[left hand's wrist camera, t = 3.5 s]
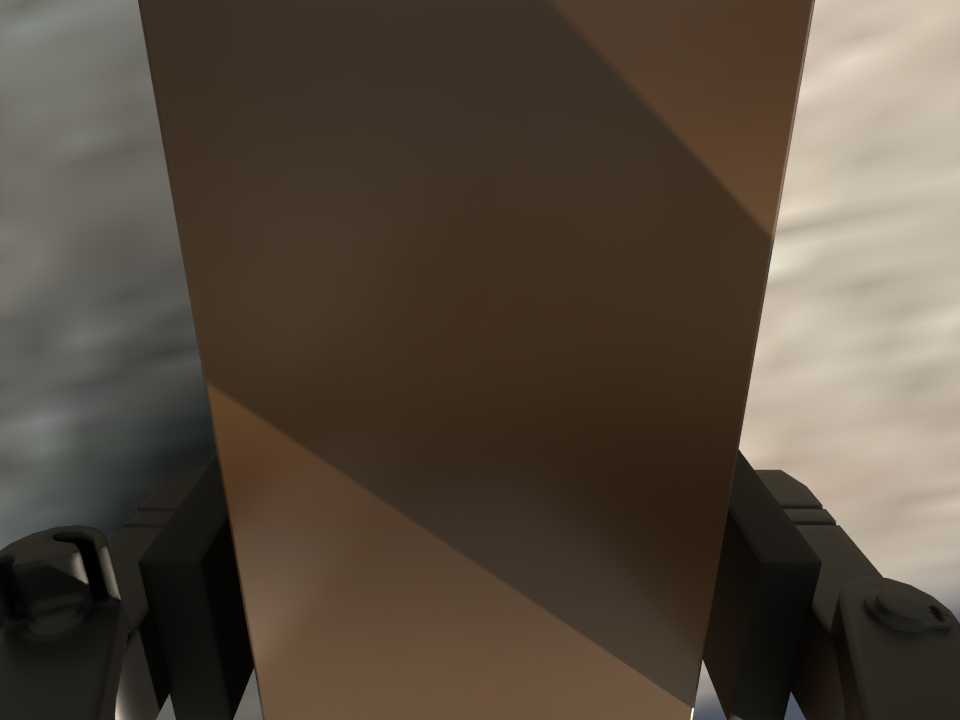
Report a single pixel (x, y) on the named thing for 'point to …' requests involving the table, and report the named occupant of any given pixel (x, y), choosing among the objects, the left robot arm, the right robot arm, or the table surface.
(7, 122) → the table surface
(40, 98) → the table surface
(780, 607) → the left robot arm
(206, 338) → the bar
